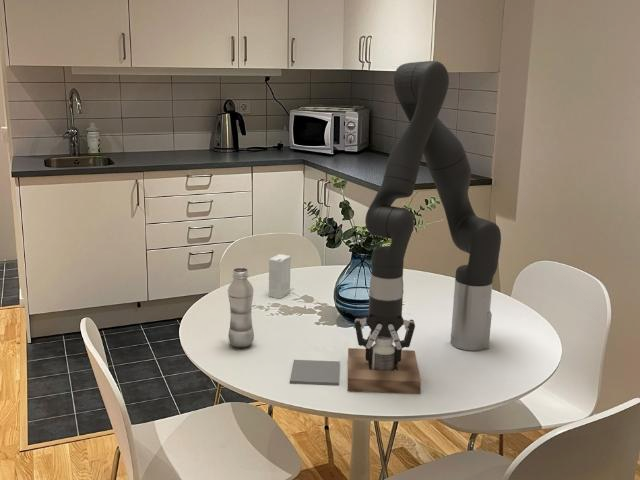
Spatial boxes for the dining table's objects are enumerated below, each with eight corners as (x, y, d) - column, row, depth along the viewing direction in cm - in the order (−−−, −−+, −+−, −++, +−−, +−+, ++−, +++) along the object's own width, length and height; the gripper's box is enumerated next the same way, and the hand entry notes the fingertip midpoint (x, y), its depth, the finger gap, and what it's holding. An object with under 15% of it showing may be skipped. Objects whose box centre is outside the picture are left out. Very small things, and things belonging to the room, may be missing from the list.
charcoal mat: (339, 363, 170) (339, 361, 170) (338, 385, 159) (338, 382, 159) (293, 361, 170) (293, 359, 170) (289, 383, 160) (290, 380, 160)
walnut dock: (414, 361, 172) (414, 350, 171) (420, 393, 156) (420, 381, 155) (347, 359, 172) (348, 348, 171) (347, 390, 157) (347, 378, 156)
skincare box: (278, 290, 218) (278, 253, 215) (290, 293, 216) (291, 255, 213) (267, 296, 213) (267, 258, 209) (280, 299, 211) (280, 260, 207)
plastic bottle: (254, 339, 182) (254, 265, 177) (253, 350, 176) (252, 274, 170) (229, 339, 182) (228, 265, 177) (227, 350, 176) (225, 274, 170)
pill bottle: (398, 377, 164) (400, 338, 161) (380, 383, 161) (382, 343, 158) (384, 368, 168) (385, 330, 165) (365, 374, 165) (367, 335, 162)
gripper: (416, 288, 162) (412, 356, 167) (354, 286, 163) (351, 354, 167) (419, 300, 155) (415, 370, 159) (354, 298, 155) (351, 368, 160)
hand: (382, 361), depth 163 cm, fingers closed on pill bottle, 5 cm apart
